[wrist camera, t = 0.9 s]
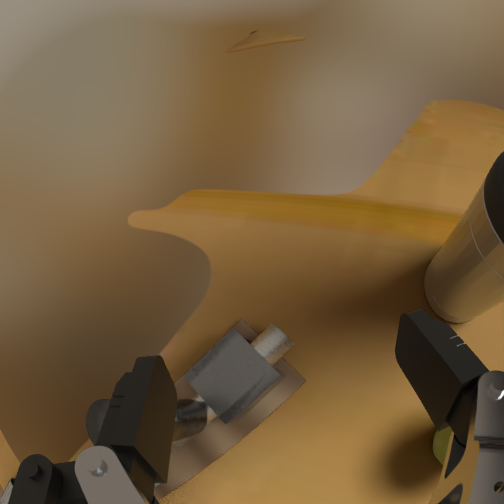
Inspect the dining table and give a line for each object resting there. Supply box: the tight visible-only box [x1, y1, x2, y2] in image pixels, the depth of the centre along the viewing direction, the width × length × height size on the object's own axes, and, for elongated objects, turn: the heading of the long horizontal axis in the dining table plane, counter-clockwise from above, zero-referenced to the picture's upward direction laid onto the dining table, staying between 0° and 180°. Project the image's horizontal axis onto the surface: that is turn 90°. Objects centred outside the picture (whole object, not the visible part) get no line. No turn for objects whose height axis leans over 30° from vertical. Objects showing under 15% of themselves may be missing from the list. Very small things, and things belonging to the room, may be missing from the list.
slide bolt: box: [86, 323, 294, 455], centre depth 23 cm, size 20×4×16 cm, turn 134°
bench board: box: [154, 319, 306, 500], centre depth 30 cm, size 27×10×2 cm, turn 134°
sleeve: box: [183, 328, 286, 424], centre depth 29 cm, size 7×6×5 cm
